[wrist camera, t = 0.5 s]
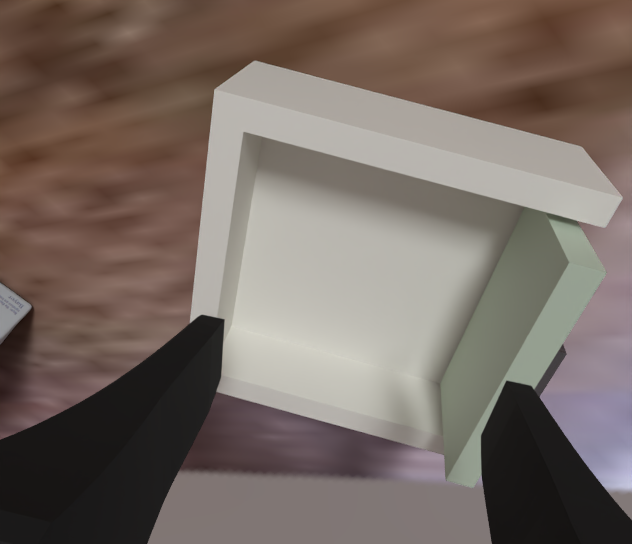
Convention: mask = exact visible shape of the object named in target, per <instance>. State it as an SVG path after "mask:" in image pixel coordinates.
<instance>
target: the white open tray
mask: <svg viewBox="0 0 632 544" xmlns="http://www.w3.org/2000/svg"><path fill="white" fill-rule="evenodd" d="M622 199H623V197H622V196H621V194H620V193H619V192H618V191H617V189H616V188H615V187H614V186H613V185H612V183H611V182H610V181H609V180H608V178H607V177H606V176H605V175H604V174H603V172H602V171H601V170H600V169H599V167H598V166H597V165H596V164H595V163H594V161H593V160H592V159H591V158H590V156H589V155H588V154H587V153H586V152H585V150H584V149H583V148H582V147H581V146H577V145H573V144H570V143H566V142H562V141H558V140H554V139H551V138H547V137H543V136H539V135H535V134H532V133H528V132H524V131H520V130H516V129H513V128H509V127H505V126H501V125H497V124H494V123H490V122H486V121H482V120H478V119H475V118H471V117H467V116H463V115H459V114H456V113H452V112H448V111H444V110H441V109H437V108H433V107H429V106H425V105H422V104H418V103H414V102H410V101H406V100H403V99H399V98H395V97H391V96H387V95H384V94H380V93H376V92H372V91H368V90H365V89H361V88H357V87H353V86H349V85H346V84H342V83H338V82H334V81H330V80H327V79H323V78H319V77H315V76H311V75H308V74H304V73H300V72H296V71H292V70H289V69H285V68H281V67H277V66H273V65H270V64H266V63H262V62H258V61H253V62H252V63H251V64H249V65H248V66H246V67H245V68H244V69H242V70H241V71H239V72H238V73H237V74H235V75H234V76H232V77H231V78H230V79H228V80H227V81H226V82H224V83H223V84H221V85H220V86H219V87H217V88H216V89H215V90H214V100H213V109H212V119H211V128H210V138H209V147H208V156H207V166H206V175H205V185H204V194H203V204H202V213H201V222H200V232H199V241H198V251H197V260H196V270H195V279H194V289H193V298H192V307H191V317H190V323H191V322H192V321H193V320H195V319H196V318H197V317H198V316H200V315H207V316H212V317H216V318H221V319H225V322H224V339H223V355H222V371H221V379H220V382H219V385H218V388H217V391H216V392H219V393H223V394H226V395H230V396H233V397H237V398H241V399H244V400H248V401H251V402H255V403H259V404H262V405H266V406H269V407H273V408H277V409H280V410H284V411H287V412H291V413H295V414H298V415H302V416H305V417H309V418H313V419H316V420H320V421H323V422H327V423H331V424H334V425H338V426H342V427H345V428H349V429H352V430H356V431H360V432H363V433H367V434H370V435H374V436H378V437H381V438H385V439H388V440H392V441H396V442H399V443H403V444H406V445H410V446H414V447H417V448H421V449H424V450H428V451H432V452H435V453H439V454H443V455H444V440H443V422H442V404H441V386H440V383H441V380H442V378H443V376H444V374H445V372H446V370H447V368H448V366H449V364H450V362H451V360H452V358H453V355H454V353H455V351H456V349H457V347H458V345H459V343H460V341H461V339H462V337H463V335H464V333H465V330H466V328H467V326H468V324H469V322H470V320H471V318H472V316H473V314H474V312H475V310H476V307H477V305H478V303H479V301H480V299H481V297H482V295H483V293H484V291H485V289H486V287H487V285H488V282H489V280H490V278H491V276H492V274H493V272H494V270H495V268H496V266H497V264H498V262H499V259H500V257H501V255H502V253H503V251H504V249H505V247H506V245H507V243H508V241H509V239H510V237H511V234H512V232H513V230H514V228H515V226H516V224H517V222H518V220H519V218H520V216H521V214H522V211H523V209H524V207H528V208H532V209H536V210H539V211H543V212H547V213H551V214H554V215H558V216H562V217H566V218H569V219H573V220H577V221H581V222H584V223H588V224H592V225H596V226H600V227H603V228H606V226H607V224H608V223H609V221H610V219H611V217H612V216H613V214H614V212H615V211H616V209H617V207H618V205H619V204H620V202H621V200H622Z"/></svg>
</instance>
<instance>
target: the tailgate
mask: <svg viewBox="0 0 632 544" xmlns="http://www.w3.org/2000/svg"><path fill="white" fill-rule="evenodd" d="M606 273H607V272H606V270H605V269H604V267H603V265H602V263H601V262H600V260H599V258H598V257H597V255H596V253H595V251H594V250H593V248H592V246H591V245H590V243H589V241H588V239H587V238H586V236H585V234H584V232H583V231H582V229H581V227H580V226H579V224H578V222H577V220H573V219H569V218H566V217H562V216H558V215H554V214H551V213H547V212H543V211H539V210H536V209H532V208H528V207H524V209H523V211H522V214H521V216H520V218H519V220H518V222H517V224H516V226H515V228H514V230H513V232H512V234H511V237H510V239H509V241H508V243H507V245H506V247H505V249H504V251H503V253H502V255H501V257H500V259H499V262H498V264H497V266H496V268H495V270H494V272H493V274H492V276H491V278H490V280H489V282H488V285H487V287H486V289H485V291H484V293H483V295H482V297H481V299H480V301H479V303H478V305H477V307H476V310H475V312H474V314H473V316H472V318H471V320H470V322H469V324H468V326H467V328H466V330H465V333H464V335H463V337H462V339H461V341H460V343H459V345H458V347H457V349H456V351H455V353H454V355H453V358H452V360H451V362H450V364H449V366H448V368H447V370H446V372H445V374H444V376H443V378H442V380H441V383H440V386H441V404H442V422H443V440H444V459H445V477H446V481H449V482H453V483H457V484H460V485H464V486H467V487H471V488H473V487H474V486H475V484H476V482H477V481H478V479H479V478H480V476H481V474H482V472H481V434H482V432H483V430H484V428H485V426H486V423H487V421H488V419H489V417H490V415H491V413H492V410H493V408H494V406H495V404H496V402H497V400H498V397H499V395H500V393H501V391H502V389H503V387H504V384H505V382H506V380H507V381H512V382H517V383H521V384H526V385H531V386H532V387H533V389H534V390H535V392H536V393H537V395H538V396H539V397H540V395H541V393H542V392H543V390H544V389H545V387H546V386H547V384H548V382H549V381H550V379H551V378H552V376H553V375H554V373H555V371H556V370H557V368H558V367H559V365H560V364H561V362H562V360H563V359H564V357H565V356H566V351H565V348H564V346H563V343H564V341H565V339H566V338H567V336H568V334H569V333H570V331H571V330H572V328H573V326H574V325H575V323H576V322H577V320H578V318H579V317H580V315H581V314H582V312H583V310H584V309H585V307H586V306H587V304H588V302H589V301H590V299H591V297H592V296H593V294H594V293H595V291H596V289H597V288H598V286H599V285H600V283H601V281H602V280H603V278H604V277H605V275H606Z"/></svg>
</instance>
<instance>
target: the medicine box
mask: <svg viewBox="0 0 632 544" xmlns="http://www.w3.org/2000/svg"><path fill="white" fill-rule="evenodd" d="M31 308H32V306H31V305H30V304H29V303H28V302H27V301H25V300H24V299H23V298H21V297H20V296H19V295H17V294H16V293H15V292H13V291H12V290H11V289H9V288H8V287H6V286H5V285H4V284H2V283H1V282H0V344H1V343H2V342H3V341H4V340H5V338H6V337H7V336H8V335H9V333H10V332H11V331H12V330H13V329H14V327H15V326H16V325H17V324H18V323H19V322H20V320H21V319H23V318H24V316H25V315H26V314H27V313H28V312H29V311H30V310H31Z"/></svg>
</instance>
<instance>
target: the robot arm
mask: <svg viewBox="0 0 632 544" xmlns="http://www.w3.org/2000/svg"><path fill="white" fill-rule="evenodd" d="M224 322H225V319H221V318H216V317H212V316H207V315H200V316H198V317H197V318H196V319H195V320H193V321H192V322H191V323H190V324H189V325H188V326H186V327H185V328H184V329H183V330H182V331H181V332H179V333H178V334H177V335H176V336H175V337H173V338H172V339H171V340H170V341H169V342H167V343H166V344H165V345H164V346H162V347H161V348H160V349H158V350H157V351H156V352H155V353H153V354H152V355H151V356H149V357H148V358H147V359H146V360H144V361H143V362H142V363H140V364H139V365H137V366H136V367H135V368H133V369H132V370H130V371H129V372H127V373H126V374H124V375H123V376H122V377H120V378H119V379H117V380H116V381H114V382H113V383H111V384H110V385H108V386H107V387H105V388H103V389H102V390H100V391H99V392H97V393H95V394H94V395H92V396H90V397H88V398H87V399H85V400H83V401H82V402H80V403H78V404H76V405H74V406H72V407H71V408H69V409H67V410H65V411H63V412H61V413H59V414H57V415H55V416H53V417H51V418H49V419H47V420H45V421H43V422H41V423H39V424H37V425H34V426H32V427H30V428H28V429H25V430H23V431H21V432H18V433H16V434H14V435H11V436H9V437H6V438H4V439H1V440H0V544H147V543H148V540H149V538H150V535H151V532H152V530H153V527H154V525H155V522H156V520H157V517H158V515H159V512H160V509H161V507H162V504H163V502H164V500H165V498H166V496H167V493H168V491H169V489H170V487H171V485H172V483H173V481H174V479H175V477H176V475H177V473H178V471H179V469H180V467H181V465H182V464H183V462H184V460H185V458H186V456H187V454H188V452H189V450H190V448H191V446H192V444H193V442H194V440H195V438H196V436H197V434H198V432H199V430H200V428H201V426H202V424H203V422H204V420H205V418H206V416H207V414H208V412H209V410H210V407H211V404H212V402H213V399H214V396H215V393H216V391H217V388H218V385H219V382H220V379H221V371H222V355H223V339H224ZM481 472H482V481H483V488H484V495H485V502H486V509H487V514H488V521H489V528H490V534H491V541H492V544H632V520H631V519H630V518H629V517H628V516H627V514H626V513H625V512H624V511H623V510H622V509H621V508H620V507H619V505H618V504H617V503H616V502H615V501H614V499H613V498H612V497H611V496H610V495H609V493H608V492H607V491H606V489H605V488H604V487H603V486H602V484H601V483H600V482H599V481H598V479H597V478H596V477H595V476H594V474H593V473H592V472H591V470H590V469H589V468H588V467H587V465H586V464H585V463H584V461H583V460H582V458H581V457H580V456H579V454H578V453H577V452H576V450H575V449H574V447H573V446H572V445H571V443H570V442H569V440H568V439H567V438H566V436H565V435H564V433H563V432H562V430H561V429H560V427H559V426H558V424H557V423H556V421H555V420H554V419H553V417H552V416H551V414H550V413H549V411H548V410H547V408H546V407H545V405H544V404H543V402H542V401H541V399H540V398H539V396H538V395H537V393H536V392H535V390H534V389H533V387H532V386H531V385H526V384H521V383H517V382H512V381H507V380H506V382H505V384H504V387H503V389H502V391H501V393H500V395H499V397H498V400H497V402H496V404H495V406H494V408H493V410H492V413H491V415H490V417H489V419H488V421H487V423H486V426H485V428H484V430H483V432H482V434H481Z"/></svg>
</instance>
